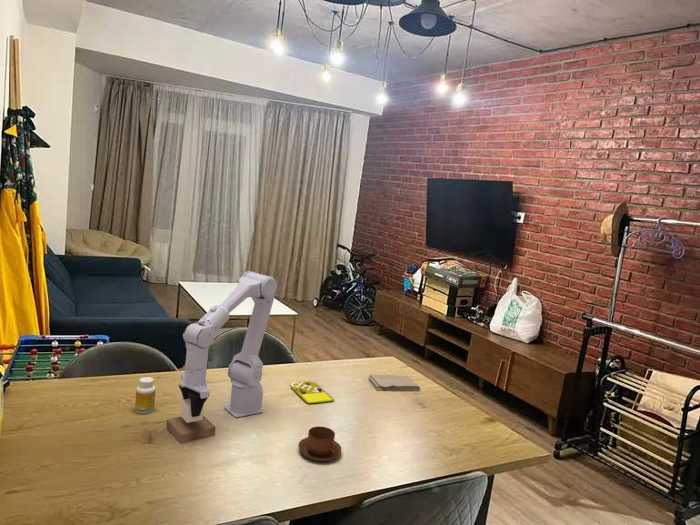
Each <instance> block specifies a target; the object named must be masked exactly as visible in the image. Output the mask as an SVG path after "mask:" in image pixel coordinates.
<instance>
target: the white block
mask: <svg viewBox="0 0 700 525" xmlns="http://www.w3.org/2000/svg"><path fill="white" fill-rule="evenodd" d="M180 413H181V414H180V417H182V418H183V419H184V420H185V421H186V422H187V423H189V422H194V421H199V420H202V417H203V416H204V414H203V413H204V405H203V408H202V410H201V413H200V416H197V417H192V415H191V404H190V399H183V398H182V401H181V412H180Z"/></svg>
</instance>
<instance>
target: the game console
mask: <svg viewBox="0 0 700 525" xmlns="http://www.w3.org/2000/svg"><path fill="white" fill-rule="evenodd" d="M289 386H290V387H291V388H290V387H289V388H290V390H292V391H293V393H295V395H297V396H298V398H300V400H302V401H303V403H305V404H306V405H308V406H312V405H322V404H329V403H334V402H335V399H334V398H333V397H332V396H331V394H329V393H328V392H327V391H326V390H324V388H322V387H321V386H320V385H319V384H318V383H317V382H316V381H311V380H309V381H298V382H297V381H294V382H292V383H290V385H289Z"/></svg>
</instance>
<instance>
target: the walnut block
mask: <svg viewBox="0 0 700 525" xmlns="http://www.w3.org/2000/svg"><path fill="white" fill-rule="evenodd" d="M166 429H167V430H168V431H169V433H170V434H171V435H172V436H173V437H174V439H176V441H177V442H178V443H179V444H181V445H182V444H183V443H190V442H193V441H198V440H201V439H206V438H209V437H215V435H216V426H215V425H214V424H213V423H212V422H211V421H210V420H209V419H208V418H207V417H206V416H205V415H203V417H202V420H199V421H194V422H189V423H187V422H186V421H185V420H184V419H183V418H182V417H181V416H177V417H176V416H175V417H172V418H167V419H166Z"/></svg>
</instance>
